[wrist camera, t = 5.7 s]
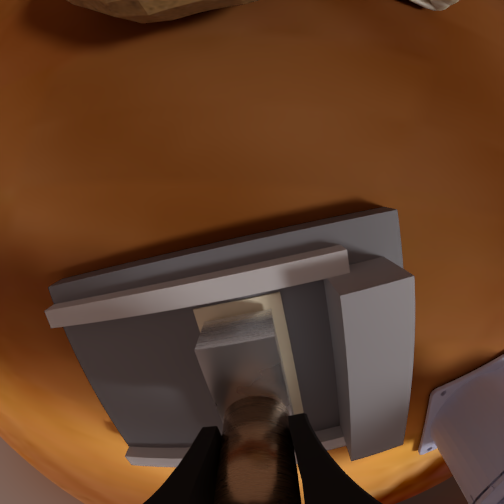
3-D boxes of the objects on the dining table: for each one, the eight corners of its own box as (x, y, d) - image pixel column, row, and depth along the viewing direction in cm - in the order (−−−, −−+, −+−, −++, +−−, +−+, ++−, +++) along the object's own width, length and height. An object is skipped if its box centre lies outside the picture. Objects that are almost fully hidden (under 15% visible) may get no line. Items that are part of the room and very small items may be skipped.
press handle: (271, 308, 13) (287, 441, 6) (297, 430, 15) (314, 542, 7) (204, 321, 13) (160, 451, 6) (245, 438, 15) (241, 549, 7)
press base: (383, 206, 14) (431, 217, 9) (391, 412, 17) (414, 456, 12) (62, 279, 15) (14, 307, 10) (146, 449, 18) (130, 492, 13)
